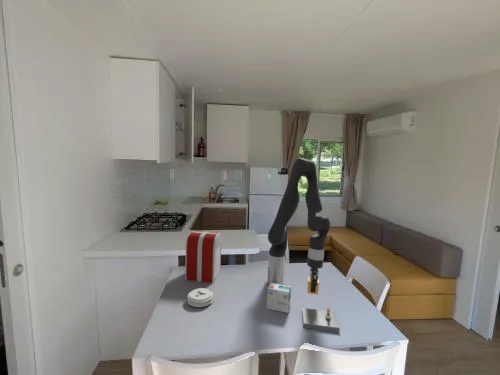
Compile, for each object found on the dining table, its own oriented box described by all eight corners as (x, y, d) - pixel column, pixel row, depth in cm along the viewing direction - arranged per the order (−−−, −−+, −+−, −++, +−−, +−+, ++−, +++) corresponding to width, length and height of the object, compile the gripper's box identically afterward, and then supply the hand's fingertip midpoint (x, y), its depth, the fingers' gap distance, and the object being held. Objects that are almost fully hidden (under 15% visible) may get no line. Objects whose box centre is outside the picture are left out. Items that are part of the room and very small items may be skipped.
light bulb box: (290, 306, 129) (291, 285, 128) (287, 314, 123) (289, 292, 122) (269, 302, 133) (270, 281, 132) (266, 309, 126) (267, 287, 125)
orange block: (307, 293, 127) (308, 281, 126) (307, 288, 132) (308, 276, 131) (317, 294, 126) (319, 282, 126) (317, 289, 131) (318, 278, 131)
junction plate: (303, 327, 113) (303, 323, 113) (302, 311, 125) (302, 307, 125) (339, 332, 111) (339, 327, 111) (334, 315, 123) (334, 311, 123)
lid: (199, 292, 139) (199, 283, 139) (218, 299, 133) (218, 290, 133) (182, 303, 128) (182, 294, 128) (201, 311, 122) (202, 301, 122)
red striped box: (194, 268, 169) (195, 228, 166) (220, 271, 166) (222, 230, 164) (184, 280, 153) (185, 235, 150) (213, 283, 150) (214, 237, 147)
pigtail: (325, 319, 116) (326, 309, 116) (325, 316, 119) (325, 307, 118) (330, 320, 116) (331, 310, 116) (330, 317, 118) (330, 307, 118)
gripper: (307, 250, 135) (304, 281, 137) (308, 261, 121) (305, 295, 123) (322, 252, 133) (319, 283, 135) (325, 263, 119) (321, 298, 121)
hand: (312, 289), depth 129 cm, fingers closed on orange block, 5 cm apart
